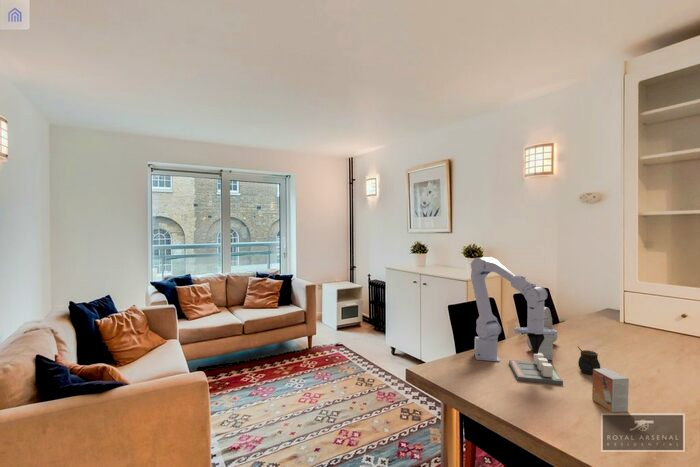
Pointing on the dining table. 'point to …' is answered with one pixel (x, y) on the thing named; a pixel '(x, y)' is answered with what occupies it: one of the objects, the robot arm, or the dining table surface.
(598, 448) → the dining table surface
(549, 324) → the headphones
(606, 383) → the small box
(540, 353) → the handle
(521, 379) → the breaker panel
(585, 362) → the mate gourd
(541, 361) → the handle
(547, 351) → the supplement box
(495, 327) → the robot arm
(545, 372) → the block
